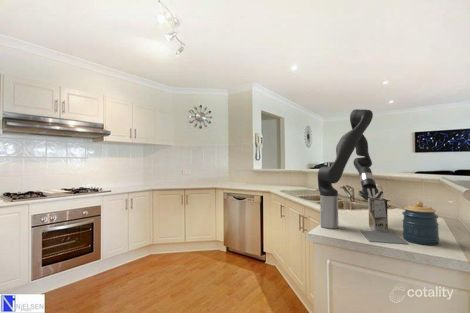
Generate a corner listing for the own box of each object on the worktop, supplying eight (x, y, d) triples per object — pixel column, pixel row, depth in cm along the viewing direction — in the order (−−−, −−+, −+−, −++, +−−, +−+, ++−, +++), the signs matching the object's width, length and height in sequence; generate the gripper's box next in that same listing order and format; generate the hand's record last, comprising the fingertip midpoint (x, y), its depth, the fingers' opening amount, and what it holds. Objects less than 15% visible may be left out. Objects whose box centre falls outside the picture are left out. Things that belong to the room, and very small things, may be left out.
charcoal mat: (369, 241, 107) (369, 240, 107) (360, 231, 123) (360, 230, 123) (408, 244, 103) (408, 243, 103) (393, 233, 119) (393, 232, 119)
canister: (428, 247, 99) (427, 204, 99) (396, 238, 111) (395, 200, 111) (446, 243, 104) (444, 202, 105) (413, 234, 116) (412, 198, 117)
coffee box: (388, 232, 121) (387, 200, 121) (374, 231, 122) (373, 200, 123) (381, 227, 130) (380, 197, 130) (368, 226, 131) (367, 197, 131)
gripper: (356, 177, 144) (361, 201, 132) (381, 177, 140) (389, 202, 128) (354, 185, 149) (359, 209, 137) (378, 186, 145) (386, 210, 133)
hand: (374, 205), depth 132 cm, fingers closed
